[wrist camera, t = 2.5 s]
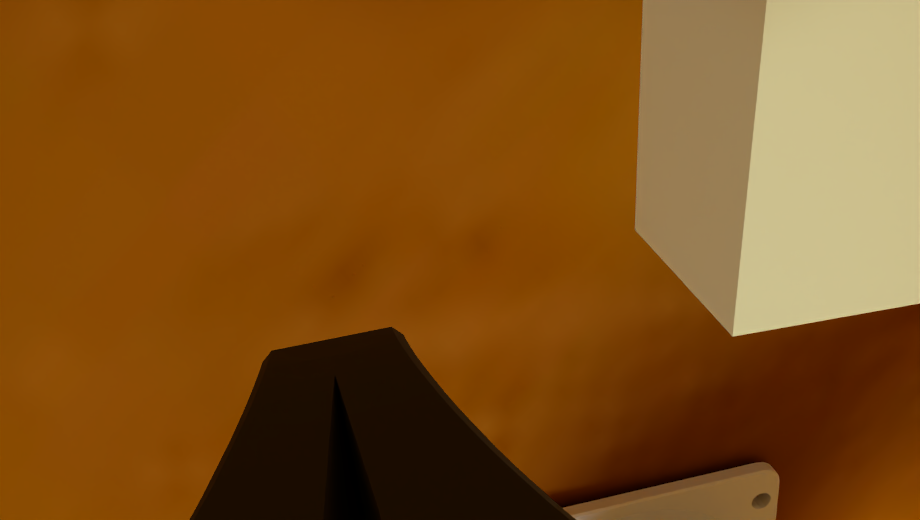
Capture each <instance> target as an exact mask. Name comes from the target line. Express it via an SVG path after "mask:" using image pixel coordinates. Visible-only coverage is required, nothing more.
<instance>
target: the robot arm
mask: <svg viewBox="0 0 920 520" xmlns="http://www.w3.org/2000/svg"><path fill="white" fill-rule="evenodd" d="M779 483H780V479H779V475H778V474H777V472H776V471H775V470H774V469H773V467H772V466H771V465H770V464H768V463H765V462H756V463H752V464H748V465H743V466H739V467H735V468H731V469H726V470H722V471H718V472H714V473H709V474H705V475H701V476H696V477H692V478H688V479H684V480H679V481H675V482H671V483H667V484H662V485H658V486H654V487H649V488H645V489H641V490H637V491H632V492H628V493H624V494H619V495H615V496H611V497H607V498H602V499H598V500H594V501H590V502H585V503H581V504H577V505H572V506H568V507H564V508H562V507H560V506H559V505H558V504H557V503H556V502H555V501H553V500H552V499H551V498H550V497H549V496H548V495H547V494H546V493H544V492H543V491H542V490H541V489H540V488H539V487H538V486H537V485H536V484H534V483H533V482H532V481H531V480H530V479H529V478H528V477H527V476H526V475H525V474H523V473H522V472H521V471H520V470H519V469H518V468H517V467H516V466H515V465H514V464H513V463H512V462H511V461H510V460H509V459H508V458H506V457H505V456H504V455H503V454H502V453H501V452H500V451H499V450H498V449H497V448H496V447H495V446H494V445H493V444H492V443H491V442H490V441H489V440H488V438H487V437H486V436H485V435H484V434H483V433H482V432H481V431H480V430H479V429H478V428H477V427H476V426H475V425H474V424H473V423H472V422H471V421H470V420H469V419H468V418H467V417H466V415H465V414H464V413H463V412H462V411H461V410H460V409H459V408H458V407H457V406H456V405H455V403H454V402H453V401H452V400H451V399H450V398H449V397H448V395H447V394H446V393H445V392H444V391H443V389H442V388H441V387H440V386H439V385H438V383H437V382H436V381H435V380H434V379H433V377H432V376H431V375H430V374H429V372H428V371H427V370H426V368H425V367H424V366H423V364H422V363H421V362H420V360H419V359H418V358H417V356H416V355H415V353H414V352H413V350H412V349H411V347H410V346H409V344H408V342H407V341H406V339H405V337H404V335H403V334H401V333H400V332H398V331H397V330H395V329H394V328H392V327H388V328H383V329H378V330H373V331H368V332H363V333H358V334H353V335H348V336H343V337H338V338H333V339H328V340H323V341H318V342H313V343H308V344H303V345H298V346H293V347H288V348H283V349H278V350H273V351H271V352H270V354H269V355H268V356H267V357H266V359H265V360H264V361H263V363H262V366H261V369H260V371H259V374H258V377H257V380H256V382H255V385H254V387H253V390H252V393H251V395H250V397H249V400H248V402H247V405H246V407H245V409H244V412H243V414H242V416H241V418H240V421H239V423H238V425H237V427H236V429H235V432H234V434H233V436H232V438H231V440H230V443H229V445H228V447H227V449H226V451H225V452H224V454H223V456H222V458H221V460H220V462H219V464H218V466H217V468H216V470H215V472H214V474H213V476H212V478H211V480H210V482H209V484H208V486H207V488H206V490H205V492H204V494H203V496H202V498H201V500H200V502H199V504H198V506H197V507H196V509H195V511H194V513H193V515H192V516H191V518H190V520H776V513H777V503H778V493H779ZM757 495H758V496H757Z"/></svg>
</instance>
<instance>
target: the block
mask: <svg viewBox="0 0 920 520" xmlns="http://www.w3.org/2000/svg"><path fill="white" fill-rule="evenodd" d="M635 230H636V231H637V232H638V234H639V235H640V236H641V237H642V238H643V239H644V240H645V241H646V242H647V243H648V245H649V246H650V247H651V248H652V249H653V250H654V251H655V252H656V253H657V254H658V255H659V257H660V258H661V259H662V260H663V261H664V262H665V263H666V264H667V265H668V266H669V268H670V269H671V270H672V271H673V272H674V273H675V274H676V275H677V276H678V277H679V279H680V280H681V281H682V282H683V283H684V284H685V285H686V286H687V287H688V288H689V289H690V291H691V292H692V293H693V294H694V295H695V296H696V297H697V298H698V299H699V300H700V302H701V303H702V304H703V305H704V306H705V307H706V308H707V309H708V310H709V311H710V312H711V314H712V315H713V316H714V317H715V318H716V319H717V320H718V321H719V322H720V323H721V325H722V326H723V327H724V328H725V329H726V330H727V331H728V332H729V333H730V334H731V335H732V337H733V336H739V335H744V334H750V333H756V332H761V331H767V330H773V329H778V328H784V327H790V326H795V325H801V324H806V323H812V322H818V321H823V320H829V319H835V318H840V317H846V316H852V315H857V314H863V313H869V312H874V311H880V310H886V309H891V308H897V307H902V306H908V305H914V304H919V303H920V0H643V15H642V44H641V72H640V101H639V129H638V157H637V186H636V214H635Z"/></svg>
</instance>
